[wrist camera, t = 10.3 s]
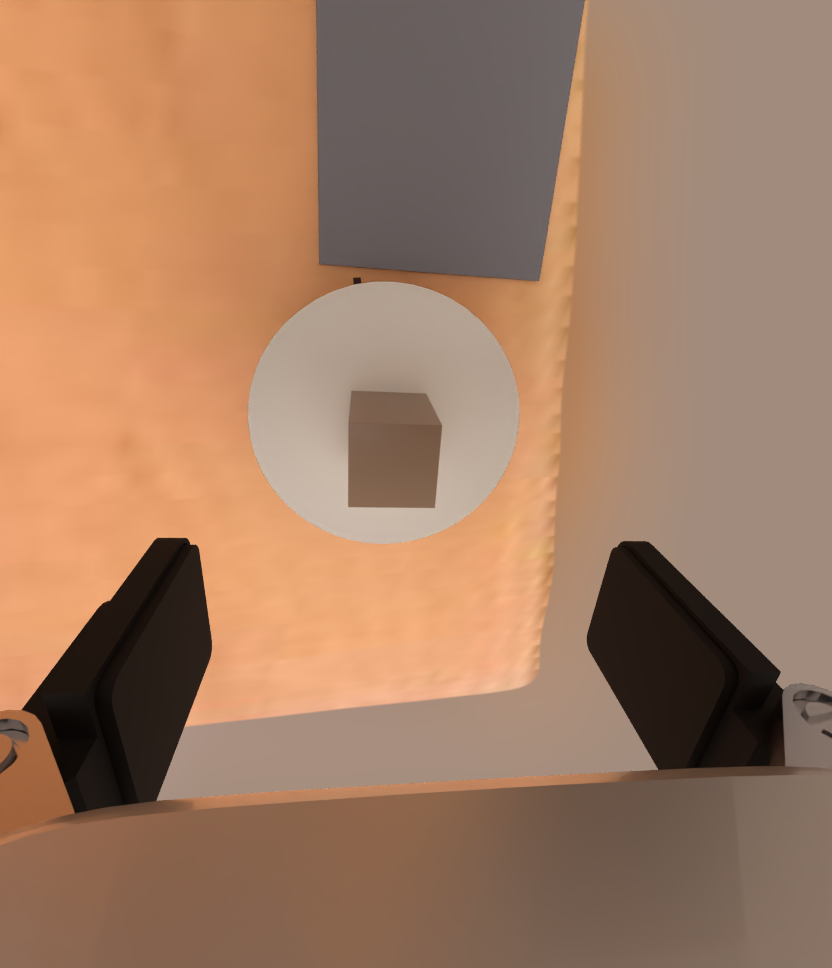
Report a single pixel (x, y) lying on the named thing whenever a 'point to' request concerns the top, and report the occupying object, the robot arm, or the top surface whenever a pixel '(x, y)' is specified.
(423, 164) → the mat
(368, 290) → the lid
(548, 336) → the top surface
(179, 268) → the top surface
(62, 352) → the top surface
